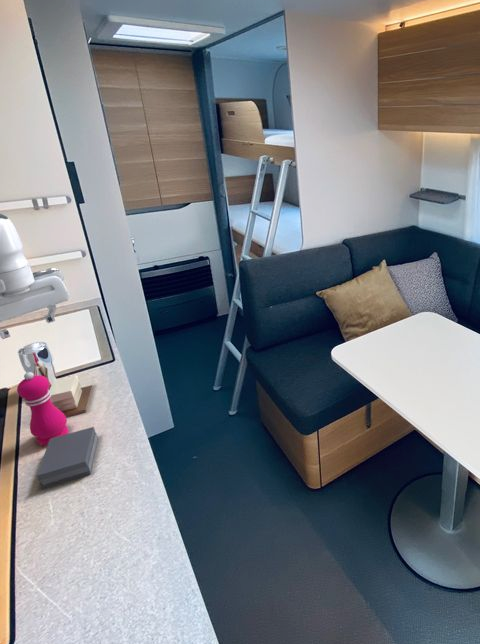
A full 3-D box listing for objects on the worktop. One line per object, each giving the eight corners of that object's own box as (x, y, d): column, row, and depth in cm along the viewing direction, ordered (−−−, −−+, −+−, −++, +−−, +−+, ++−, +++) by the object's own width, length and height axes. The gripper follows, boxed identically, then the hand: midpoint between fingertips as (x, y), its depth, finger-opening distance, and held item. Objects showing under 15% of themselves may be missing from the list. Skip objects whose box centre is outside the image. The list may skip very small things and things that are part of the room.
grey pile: (42, 491, 90) (36, 476, 88) (55, 452, 100) (49, 438, 98) (92, 476, 93) (86, 461, 91) (99, 440, 103) (94, 426, 102)
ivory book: (49, 403, 109) (46, 396, 108) (56, 386, 116) (53, 379, 115) (73, 397, 111) (71, 390, 110) (79, 380, 118) (76, 374, 117)
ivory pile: (42, 425, 108) (36, 410, 107) (53, 398, 119) (47, 384, 117) (86, 414, 112) (81, 399, 110) (93, 389, 122) (88, 375, 120)
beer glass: (45, 400, 118) (27, 356, 112) (28, 395, 120) (10, 352, 114) (68, 386, 124) (53, 343, 118) (52, 381, 126) (36, 339, 120)
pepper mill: (49, 452, 100) (21, 385, 92) (29, 444, 102) (0, 378, 95) (78, 431, 106) (53, 367, 99) (59, 425, 109) (33, 361, 101)
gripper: (54, 263, 108) (70, 310, 113) (-51, 290, 92) (-27, 343, 97) (64, 268, 104) (80, 316, 109) (-43, 297, 89) (-19, 351, 94)
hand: (29, 329), depth 103 cm, fingers open, 8 cm apart
